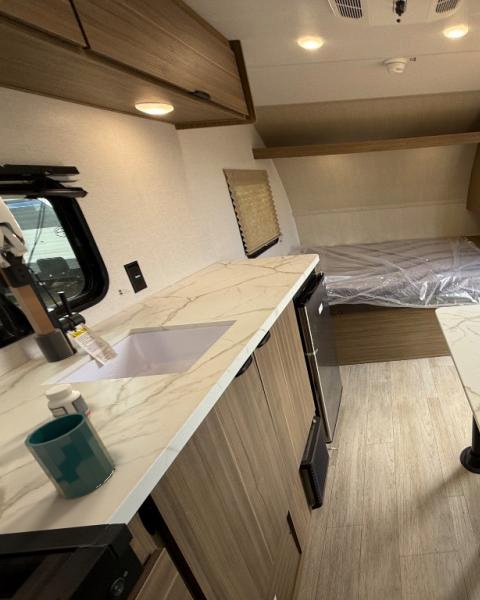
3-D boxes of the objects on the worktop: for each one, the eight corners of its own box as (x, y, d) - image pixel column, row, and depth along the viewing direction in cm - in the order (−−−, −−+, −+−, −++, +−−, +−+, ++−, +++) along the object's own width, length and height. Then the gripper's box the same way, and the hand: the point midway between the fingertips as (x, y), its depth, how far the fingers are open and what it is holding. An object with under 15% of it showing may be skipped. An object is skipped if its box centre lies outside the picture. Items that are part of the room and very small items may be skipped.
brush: (42, 362, 66) (-20, 260, 58) (64, 352, 70) (9, 254, 61) (56, 363, 65) (-4, 260, 57) (78, 352, 69) (24, 254, 61)
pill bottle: (88, 409, 76) (71, 378, 72) (94, 417, 73) (76, 385, 70) (58, 423, 72) (38, 391, 68) (63, 432, 69) (42, 399, 66)
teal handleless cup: (50, 495, 55) (12, 443, 50) (96, 459, 61) (67, 410, 57) (81, 502, 53) (45, 449, 48) (125, 464, 60) (97, 414, 55)
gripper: (-104, 189, 53) (-37, 292, 60) (-40, 182, 49) (23, 292, 56) (-39, 186, 59) (15, 279, 66) (22, 180, 56) (71, 278, 63)
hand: (18, 284), depth 61 cm, fingers closed on brush, 2 cm apart
